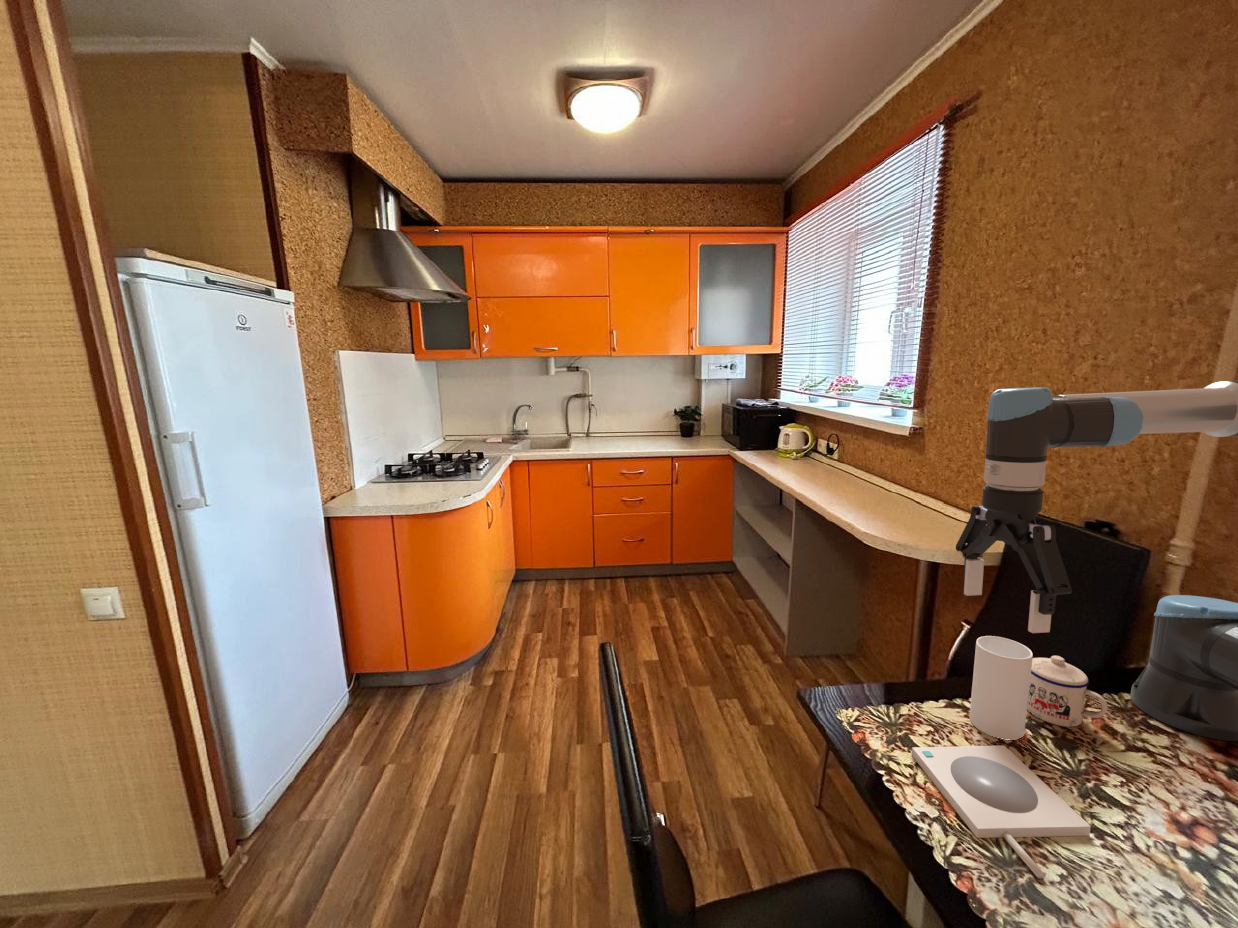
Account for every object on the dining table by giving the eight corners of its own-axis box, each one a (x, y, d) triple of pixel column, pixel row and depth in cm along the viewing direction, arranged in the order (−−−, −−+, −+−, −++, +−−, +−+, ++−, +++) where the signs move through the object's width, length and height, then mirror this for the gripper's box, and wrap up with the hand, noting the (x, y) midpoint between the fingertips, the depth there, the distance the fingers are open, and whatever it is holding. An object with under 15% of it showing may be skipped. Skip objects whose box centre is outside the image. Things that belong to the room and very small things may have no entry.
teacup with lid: (1013, 708, 97) (1019, 654, 95) (1032, 692, 102) (1037, 640, 100) (1095, 744, 87) (1103, 684, 85) (1111, 725, 92) (1119, 667, 90)
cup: (1034, 743, 88) (1043, 660, 85) (982, 738, 90) (990, 656, 87) (1008, 713, 96) (1016, 637, 93) (961, 709, 97) (967, 634, 95)
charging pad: (1003, 752, 86) (1004, 744, 86) (1132, 876, 64) (1134, 865, 64) (911, 754, 86) (912, 746, 86) (1009, 879, 64) (1010, 868, 64)
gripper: (937, 473, 90) (931, 583, 93) (1061, 505, 66) (1047, 652, 69) (977, 471, 90) (970, 581, 94) (1116, 502, 66) (1100, 649, 69)
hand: (1002, 611), depth 81 cm, fingers open, 13 cm apart
